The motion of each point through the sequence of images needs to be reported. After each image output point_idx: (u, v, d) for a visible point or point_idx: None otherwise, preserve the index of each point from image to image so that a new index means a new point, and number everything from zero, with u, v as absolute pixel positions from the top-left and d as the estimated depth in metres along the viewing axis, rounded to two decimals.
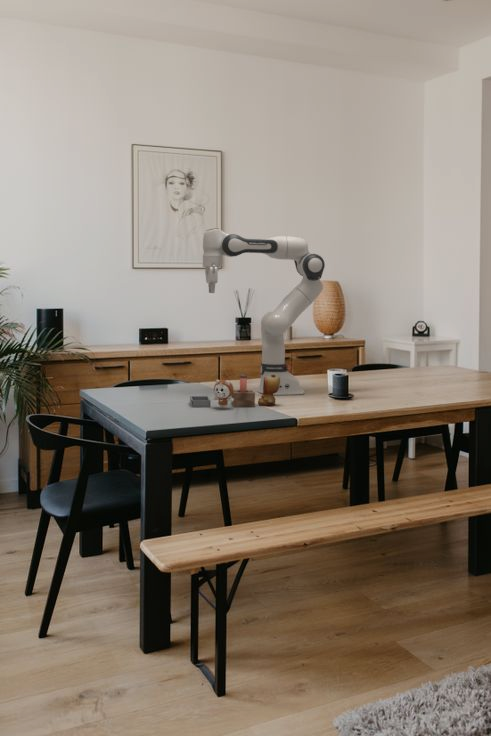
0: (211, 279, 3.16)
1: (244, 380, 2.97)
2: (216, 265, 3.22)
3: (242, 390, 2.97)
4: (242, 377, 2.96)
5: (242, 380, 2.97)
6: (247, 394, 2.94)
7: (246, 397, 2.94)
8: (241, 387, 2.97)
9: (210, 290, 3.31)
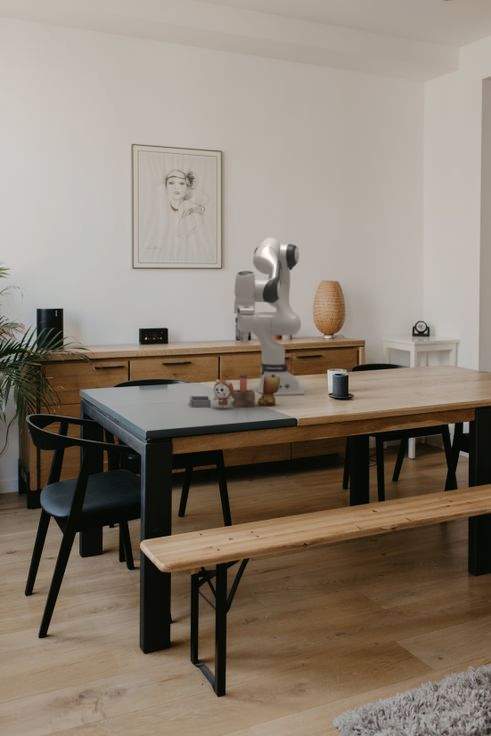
0: None
1: (244, 380, 2.97)
2: None
3: (242, 390, 2.97)
4: (242, 377, 2.96)
5: (242, 380, 2.97)
6: (247, 394, 2.94)
7: (246, 397, 2.94)
8: (241, 387, 2.97)
9: None
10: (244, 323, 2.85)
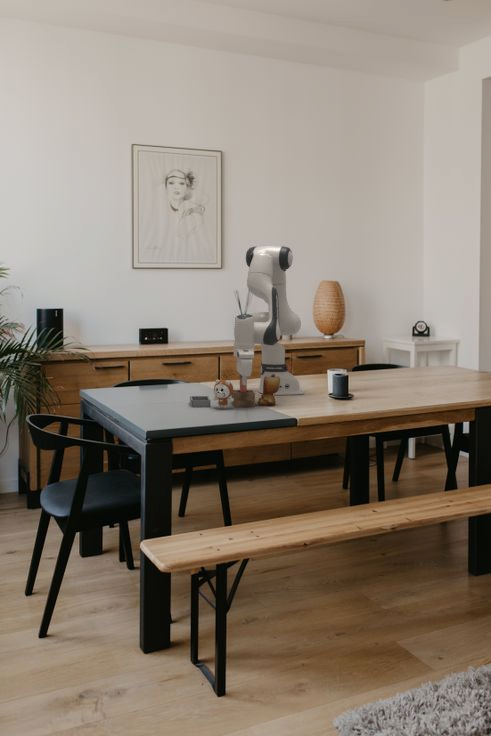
0: None
1: None
2: None
3: (242, 390, 2.97)
4: None
5: None
6: (247, 394, 2.94)
7: (246, 397, 2.94)
8: (241, 387, 2.97)
9: None
10: (244, 368, 2.87)
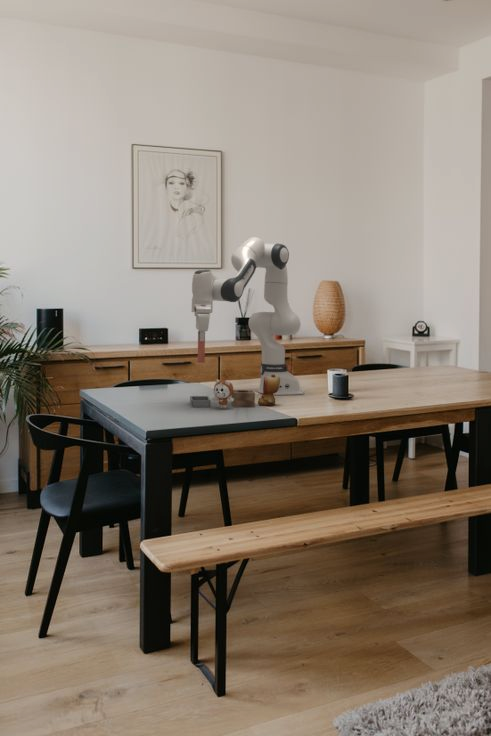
0: None
1: None
2: None
3: (200, 346, 2.93)
4: None
5: None
6: (247, 394, 2.94)
7: (246, 397, 2.94)
8: (199, 343, 2.93)
9: None
10: (201, 322, 2.84)
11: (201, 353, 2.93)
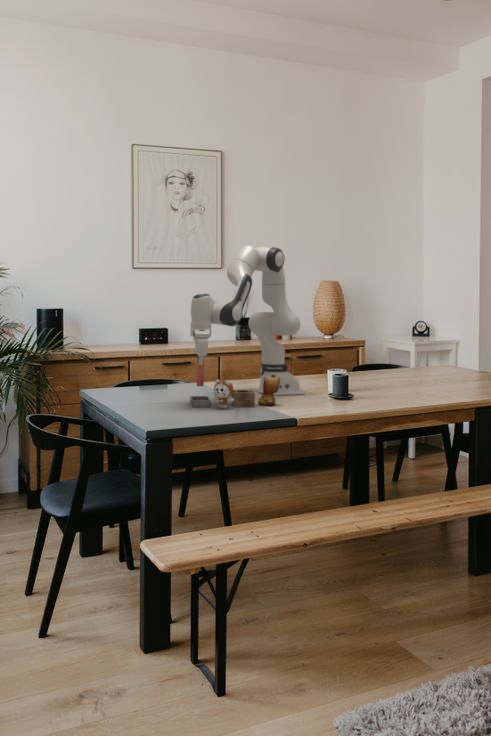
0: None
1: None
2: None
3: (199, 370, 2.94)
4: None
5: None
6: (247, 394, 2.94)
7: (246, 397, 2.94)
8: (198, 367, 2.94)
9: None
10: (199, 347, 2.85)
11: (200, 377, 2.95)
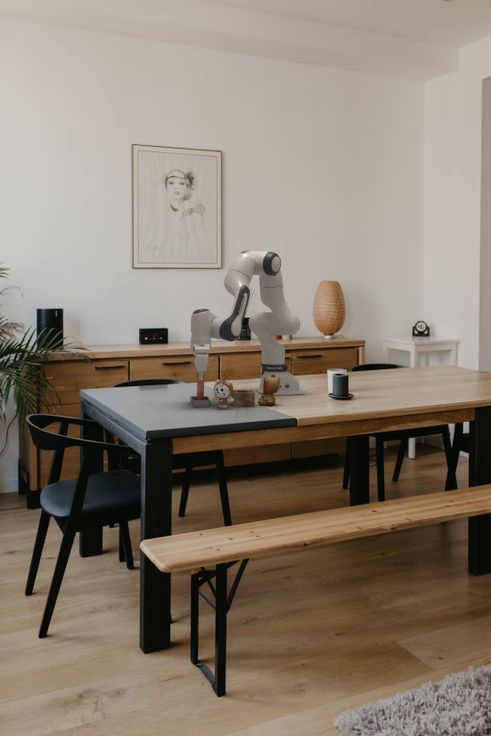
0: None
1: None
2: None
3: (199, 388, 2.95)
4: None
5: None
6: (247, 394, 2.94)
7: (246, 397, 2.94)
8: (198, 385, 2.95)
9: None
10: (199, 362, 2.86)
11: (200, 395, 2.96)
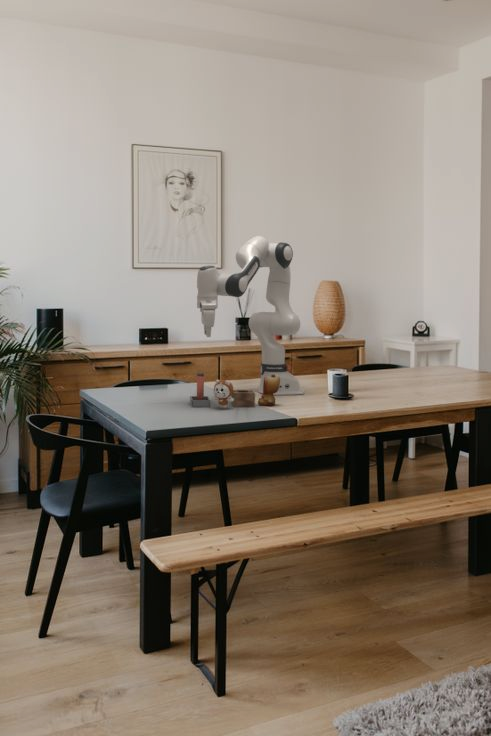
0: None
1: (201, 378, 2.95)
2: None
3: (199, 388, 2.95)
4: (199, 375, 2.95)
5: (199, 378, 2.95)
6: (247, 394, 2.94)
7: (246, 397, 2.94)
8: (198, 385, 2.95)
9: None
10: (207, 318, 2.89)
11: (200, 395, 2.96)
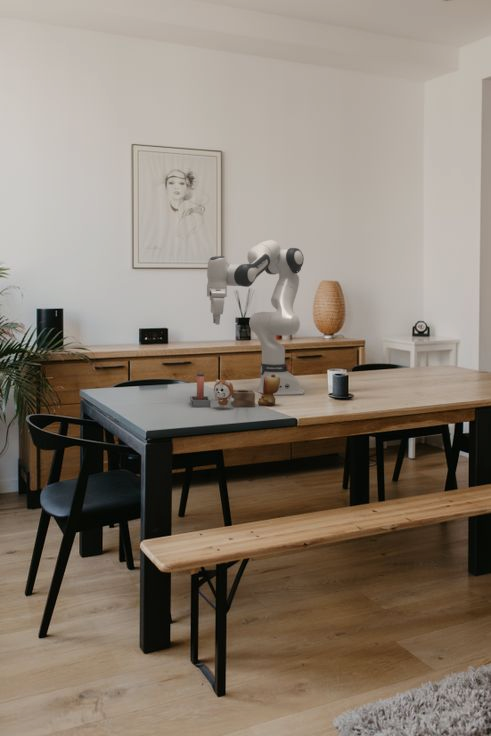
0: None
1: (201, 378, 2.95)
2: None
3: (199, 388, 2.95)
4: (199, 375, 2.95)
5: (199, 378, 2.95)
6: (247, 394, 2.94)
7: (246, 397, 2.94)
8: (198, 385, 2.95)
9: None
10: (216, 306, 2.99)
11: (200, 395, 2.96)
